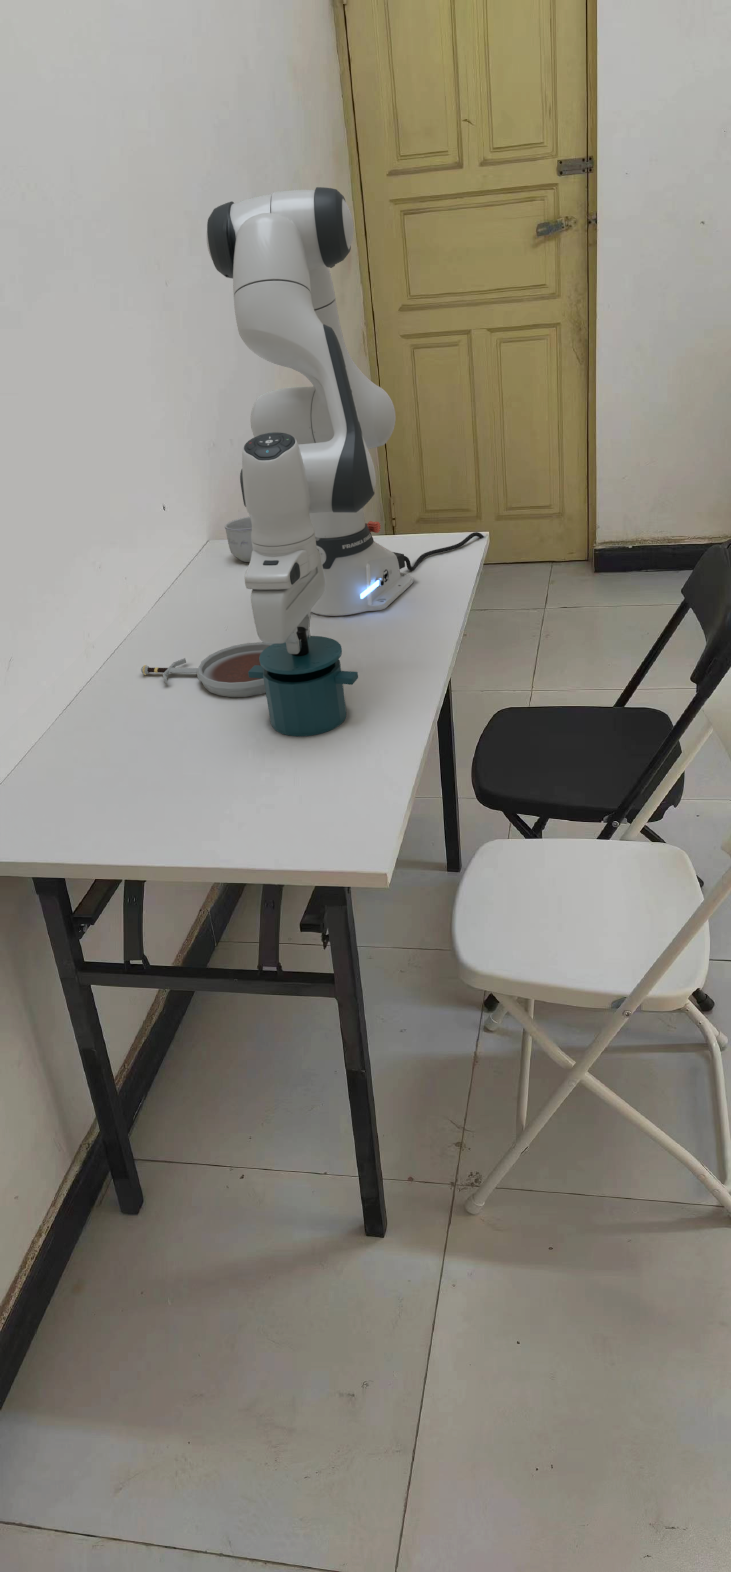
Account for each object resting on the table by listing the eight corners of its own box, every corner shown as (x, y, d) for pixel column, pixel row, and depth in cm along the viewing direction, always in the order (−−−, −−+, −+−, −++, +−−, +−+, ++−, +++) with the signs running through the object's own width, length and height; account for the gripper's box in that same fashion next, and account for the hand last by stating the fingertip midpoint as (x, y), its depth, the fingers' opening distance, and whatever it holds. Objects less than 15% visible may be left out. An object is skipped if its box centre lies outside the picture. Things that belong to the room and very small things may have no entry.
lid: (281, 641, 171) (276, 611, 168) (354, 645, 167) (351, 615, 164) (246, 675, 161) (241, 645, 159) (323, 681, 157) (319, 649, 155)
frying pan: (159, 641, 195) (311, 639, 187) (163, 656, 197) (313, 655, 189) (117, 683, 181) (279, 683, 173) (121, 700, 183) (282, 700, 175)
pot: (274, 698, 176) (266, 648, 172) (373, 705, 170) (368, 654, 166) (242, 731, 167) (233, 680, 163) (346, 740, 161) (339, 687, 157)
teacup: (224, 567, 234) (218, 530, 230) (238, 550, 243) (232, 514, 239) (288, 564, 231) (283, 527, 227) (299, 547, 240) (295, 510, 236)
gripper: (288, 531, 165) (301, 617, 172) (239, 582, 149) (255, 676, 156) (329, 530, 163) (340, 618, 170) (283, 582, 147) (297, 677, 154)
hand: (299, 646), depth 163 cm, fingers closed on lid, 2 cm apart
